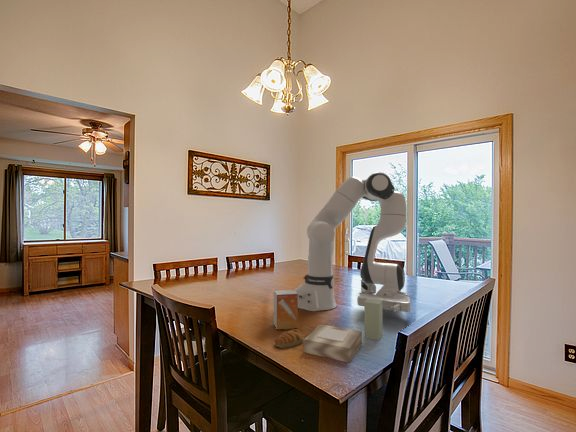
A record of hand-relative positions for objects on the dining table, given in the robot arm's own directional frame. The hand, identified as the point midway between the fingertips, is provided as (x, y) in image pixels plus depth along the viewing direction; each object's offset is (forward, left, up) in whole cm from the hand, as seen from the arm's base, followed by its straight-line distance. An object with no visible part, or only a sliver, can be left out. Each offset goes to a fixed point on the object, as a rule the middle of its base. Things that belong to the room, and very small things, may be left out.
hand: (380, 307), depth 113 cm
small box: (-31, -17, -7) cm, 36 cm away
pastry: (-23, -30, -7) cm, 38 cm away
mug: (-14, +45, -7) cm, 47 cm away
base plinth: (-9, -26, -7) cm, 29 cm away
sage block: (0, -11, -7) cm, 13 cm away
